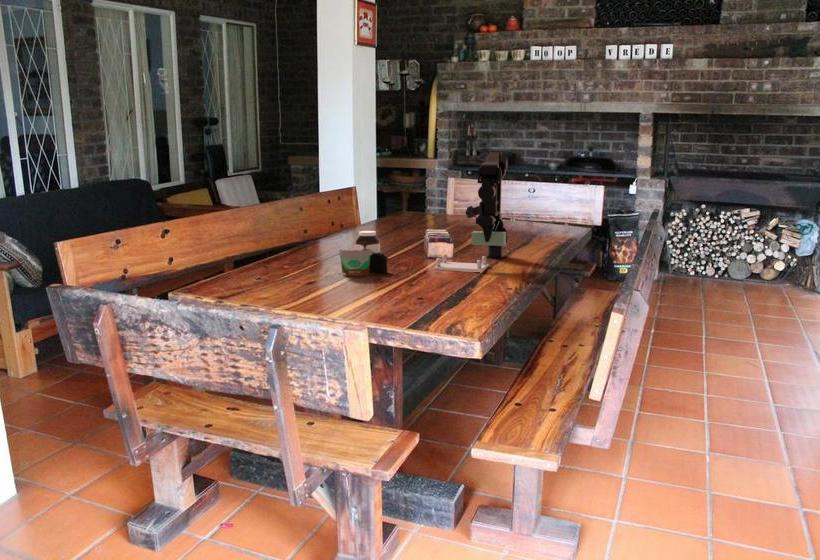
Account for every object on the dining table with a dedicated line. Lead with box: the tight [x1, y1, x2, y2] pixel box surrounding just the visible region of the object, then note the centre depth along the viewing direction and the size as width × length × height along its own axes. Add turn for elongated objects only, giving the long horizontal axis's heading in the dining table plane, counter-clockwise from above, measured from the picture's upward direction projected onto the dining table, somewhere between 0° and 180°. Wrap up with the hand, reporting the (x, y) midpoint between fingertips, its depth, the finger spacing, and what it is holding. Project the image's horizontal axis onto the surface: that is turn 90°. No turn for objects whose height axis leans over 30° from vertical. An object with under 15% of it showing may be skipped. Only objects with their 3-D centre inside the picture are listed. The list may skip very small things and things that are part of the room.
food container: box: [337, 248, 372, 279], centre depth 261 cm, size 12×6×10 cm, turn 101°
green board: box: [470, 230, 507, 247], centre depth 271 cm, size 5×12×4 cm, turn 73°
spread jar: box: [349, 230, 381, 253], centre depth 296 cm, size 12×11×12 cm
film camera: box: [365, 249, 389, 275], centre depth 271 cm, size 15×10×9 cm, turn 73°
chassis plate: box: [433, 254, 489, 274], centre depth 276 cm, size 12×18×4 cm, turn 72°
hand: (488, 241), depth 271 cm, fingers closed on green board, 5 cm apart
